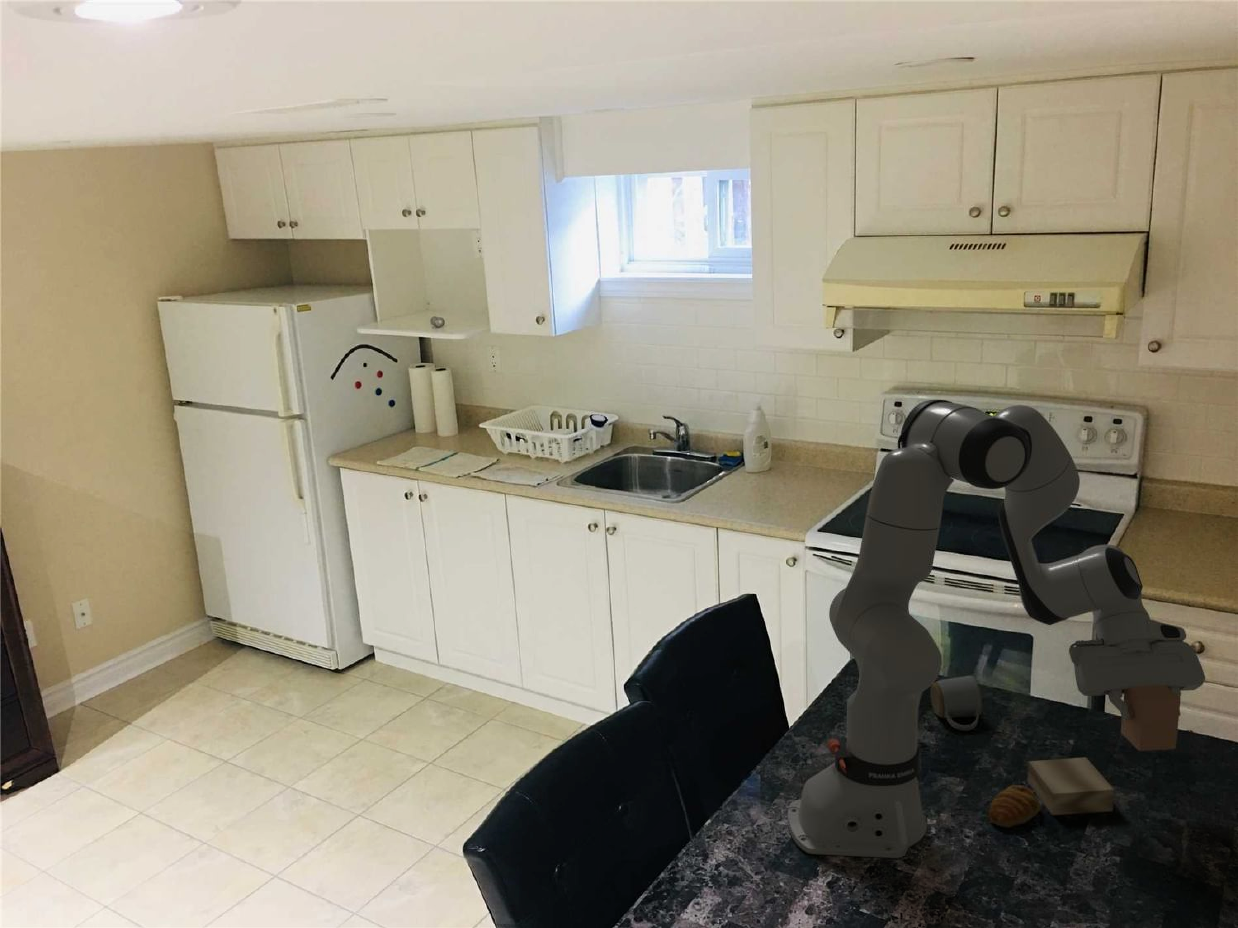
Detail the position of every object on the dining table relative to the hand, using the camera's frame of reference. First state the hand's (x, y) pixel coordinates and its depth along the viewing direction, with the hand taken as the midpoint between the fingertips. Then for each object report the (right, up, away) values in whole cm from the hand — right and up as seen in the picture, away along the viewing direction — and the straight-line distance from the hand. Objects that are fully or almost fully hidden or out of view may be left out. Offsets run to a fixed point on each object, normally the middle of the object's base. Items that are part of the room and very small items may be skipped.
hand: (1152, 717), depth 170 cm
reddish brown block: (0, -4, +2) cm, 4 cm away
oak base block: (-11, -15, +6) cm, 19 cm away
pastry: (-22, -17, +3) cm, 28 cm away
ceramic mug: (-21, -8, +34) cm, 40 cm away
